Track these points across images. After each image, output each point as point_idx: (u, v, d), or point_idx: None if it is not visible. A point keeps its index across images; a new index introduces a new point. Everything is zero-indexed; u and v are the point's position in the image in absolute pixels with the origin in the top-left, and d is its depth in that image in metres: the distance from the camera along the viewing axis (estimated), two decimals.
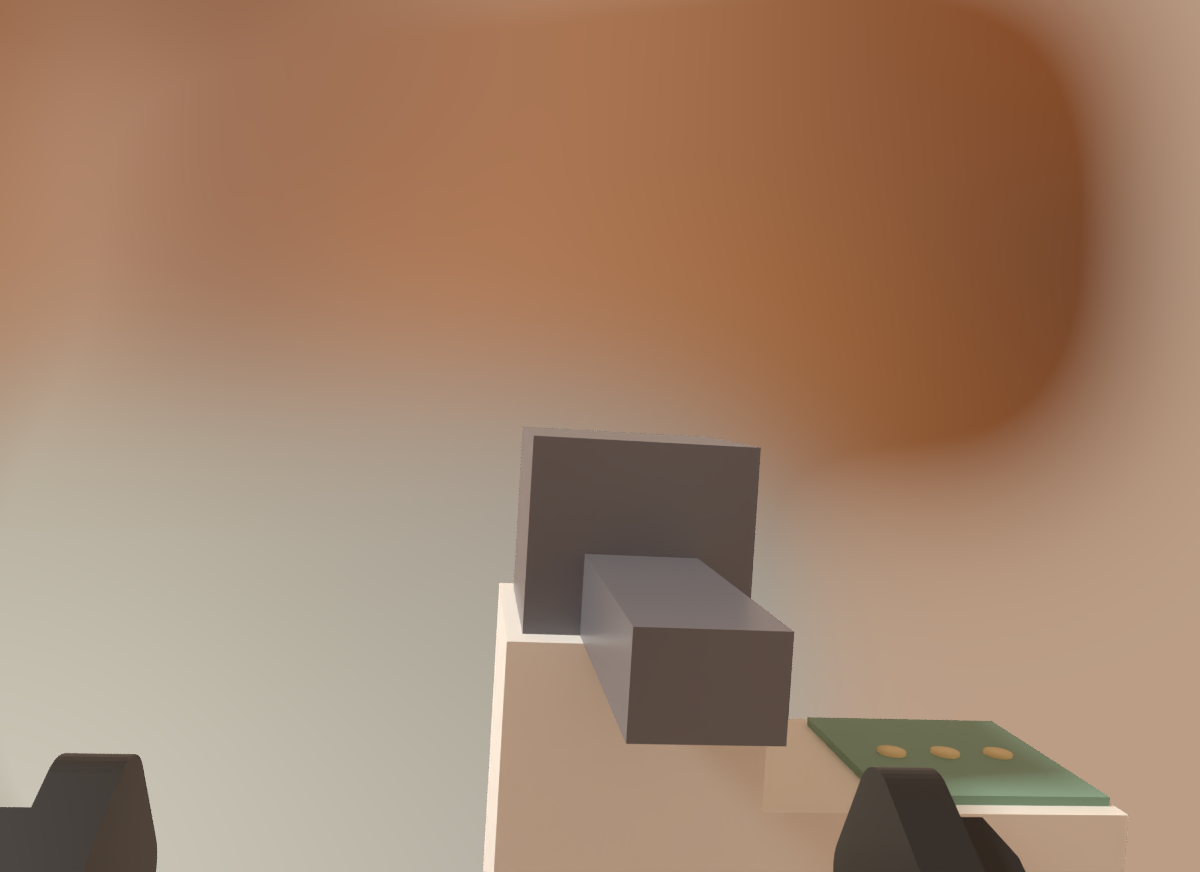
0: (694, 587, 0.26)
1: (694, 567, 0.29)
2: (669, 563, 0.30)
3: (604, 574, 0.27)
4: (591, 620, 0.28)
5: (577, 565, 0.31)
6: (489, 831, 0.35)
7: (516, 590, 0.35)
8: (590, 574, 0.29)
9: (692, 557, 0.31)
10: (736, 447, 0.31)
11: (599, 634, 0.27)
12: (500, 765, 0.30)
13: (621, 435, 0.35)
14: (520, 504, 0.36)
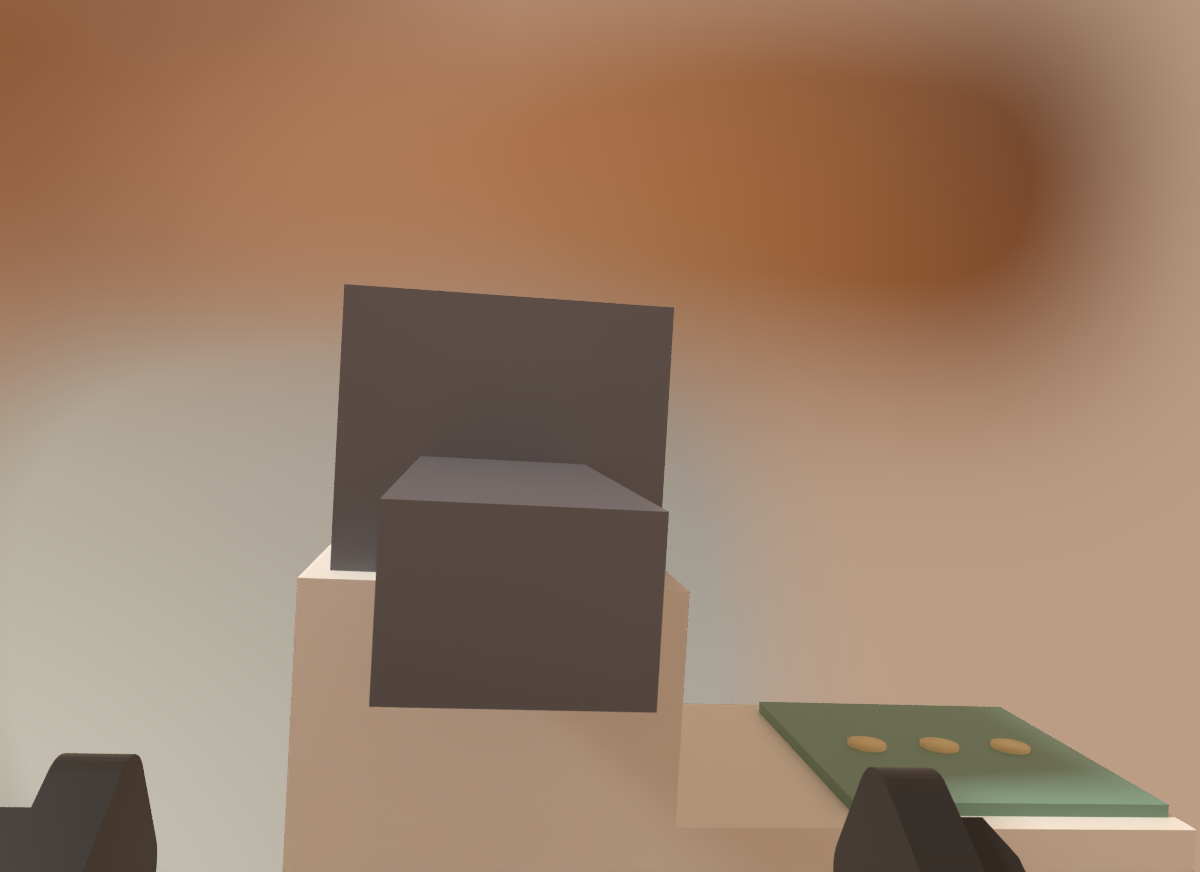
0: (547, 478, 0.17)
1: (570, 468, 0.20)
2: (536, 464, 0.21)
3: (419, 466, 0.18)
4: None
5: None
6: None
7: None
8: None
9: (576, 462, 0.22)
10: (639, 306, 0.22)
11: None
12: (290, 759, 0.20)
13: None
14: None
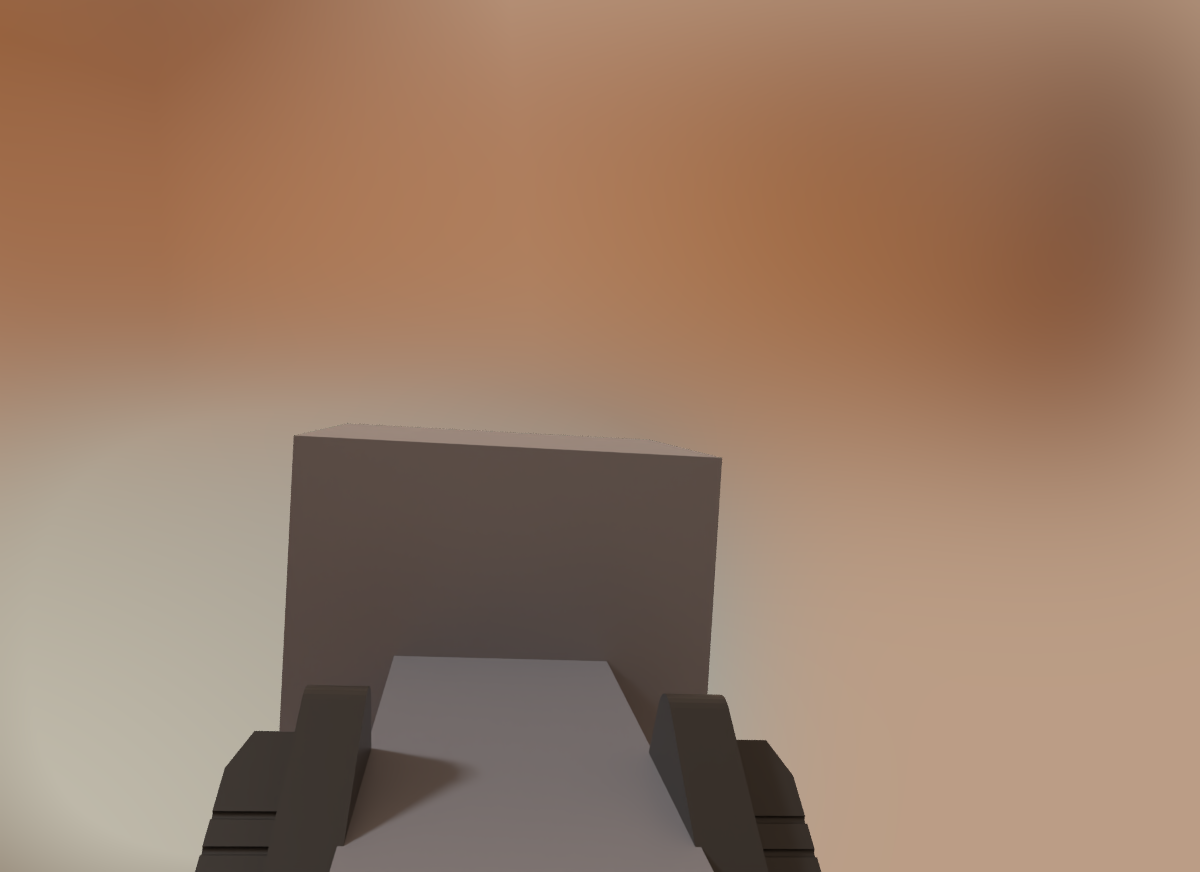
0: (563, 764, 0.12)
1: (590, 689, 0.15)
2: (545, 679, 0.16)
3: (386, 723, 0.13)
4: None
5: (380, 677, 0.17)
6: None
7: None
8: None
9: (596, 659, 0.17)
10: (677, 457, 0.17)
11: None
12: None
13: (491, 436, 0.20)
14: None
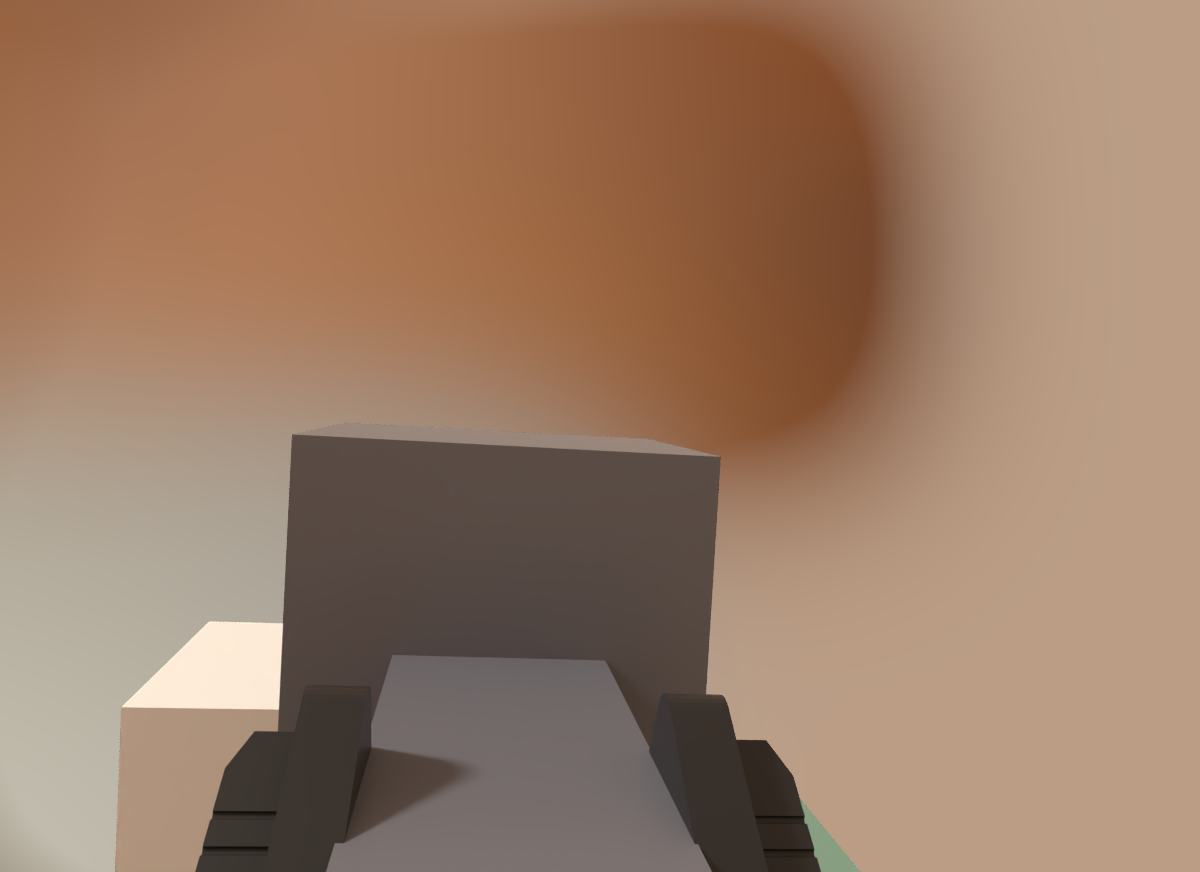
0: (561, 763, 0.12)
1: (588, 688, 0.15)
2: (543, 678, 0.16)
3: (384, 722, 0.13)
4: None
5: (378, 676, 0.17)
6: None
7: None
8: None
9: (595, 659, 0.17)
10: (675, 456, 0.17)
11: None
12: (117, 852, 0.25)
13: (490, 435, 0.20)
14: None
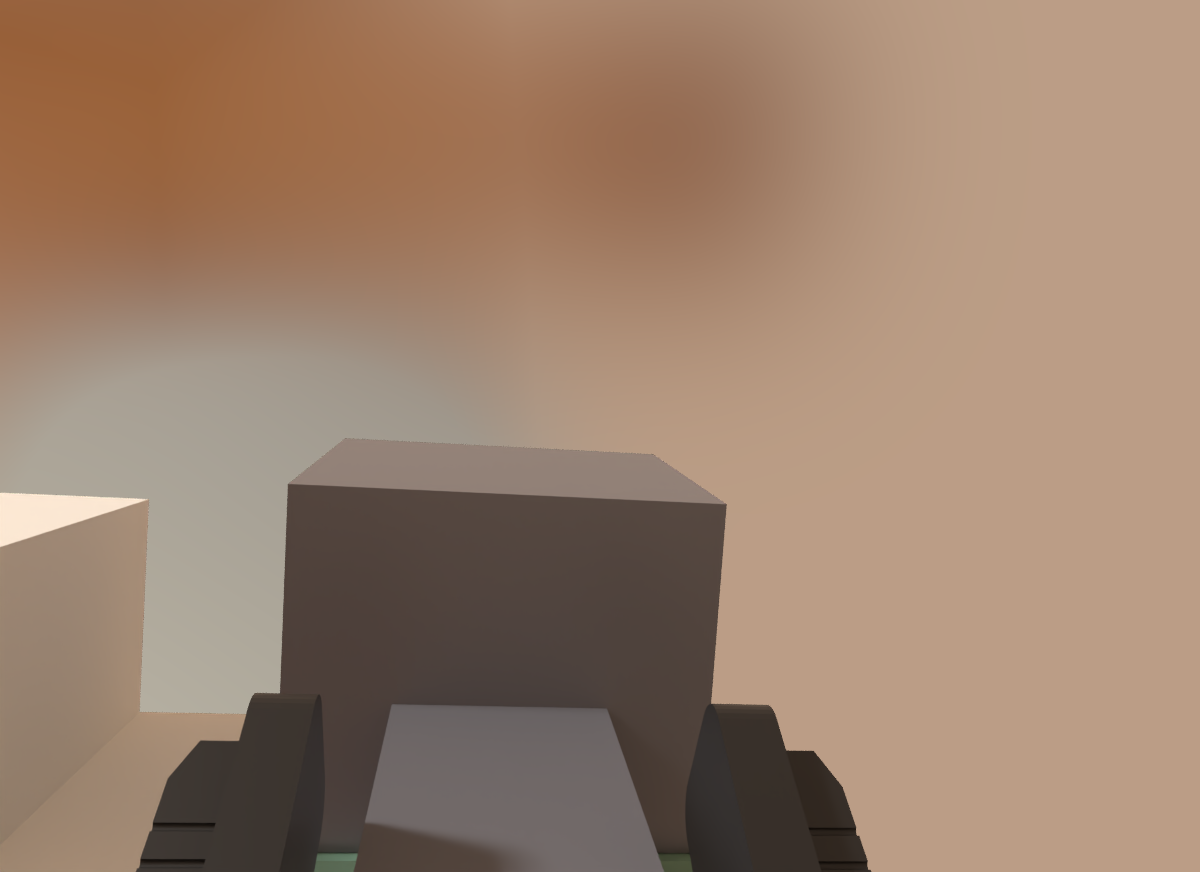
0: (561, 856, 0.12)
1: (589, 749, 0.15)
2: (544, 735, 0.15)
3: (382, 801, 0.13)
4: None
5: (378, 725, 0.16)
6: None
7: None
8: None
9: (596, 707, 0.17)
10: (680, 504, 0.17)
11: None
12: None
13: (491, 463, 0.20)
14: None
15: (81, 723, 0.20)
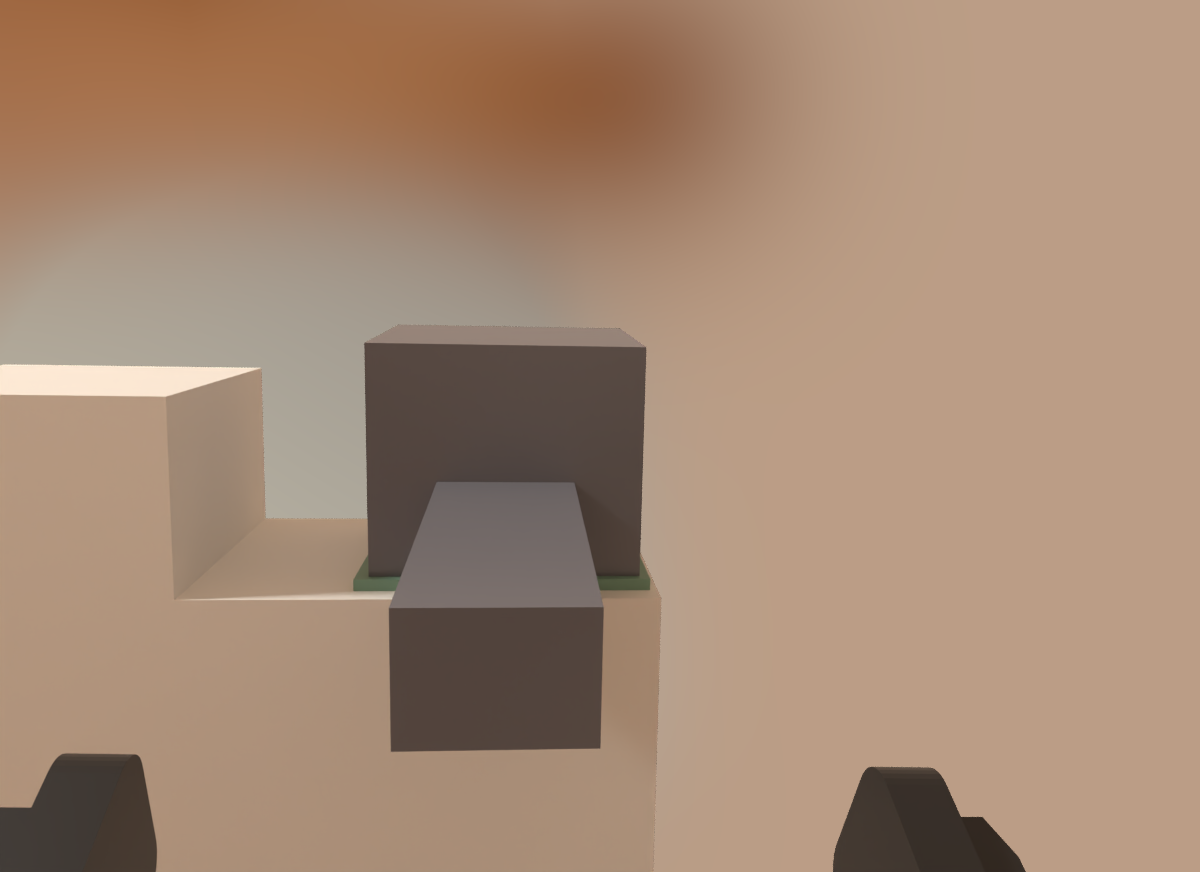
0: (530, 532, 0.21)
1: (558, 497, 0.24)
2: (531, 492, 0.25)
3: (431, 515, 0.22)
4: None
5: (428, 495, 0.26)
6: None
7: None
8: None
9: (567, 481, 0.26)
10: (616, 347, 0.26)
11: None
12: None
13: (498, 333, 0.29)
14: None
15: (233, 515, 0.30)
